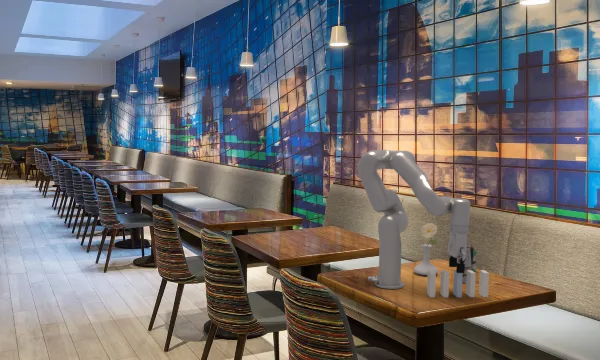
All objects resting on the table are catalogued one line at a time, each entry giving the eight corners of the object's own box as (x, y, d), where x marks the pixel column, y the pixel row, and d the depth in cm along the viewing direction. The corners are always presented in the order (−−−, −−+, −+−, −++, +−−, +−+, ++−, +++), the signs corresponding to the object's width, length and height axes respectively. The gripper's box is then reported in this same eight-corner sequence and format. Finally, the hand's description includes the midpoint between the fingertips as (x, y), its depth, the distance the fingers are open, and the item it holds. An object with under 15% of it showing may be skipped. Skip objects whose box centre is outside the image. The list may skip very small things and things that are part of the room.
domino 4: (470, 297, 242) (470, 273, 241) (466, 293, 247) (466, 270, 246) (474, 297, 242) (475, 273, 241) (470, 293, 247) (471, 270, 246)
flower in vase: (408, 272, 284) (410, 220, 282) (428, 270, 288) (429, 219, 286) (425, 278, 272) (427, 224, 270) (445, 276, 277) (447, 223, 275)
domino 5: (483, 297, 242) (484, 273, 242) (478, 293, 247) (479, 270, 247) (488, 297, 243) (488, 273, 242) (483, 293, 248) (484, 270, 247)
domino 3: (456, 297, 242) (457, 273, 241) (453, 293, 247) (453, 270, 246) (461, 297, 242) (462, 273, 241) (457, 293, 247) (458, 270, 246)
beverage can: (472, 276, 278) (472, 251, 277) (455, 273, 282) (456, 248, 281) (478, 273, 284) (479, 248, 283) (462, 270, 289) (462, 246, 288)
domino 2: (443, 297, 242) (444, 273, 241) (440, 293, 247) (440, 270, 246) (448, 297, 242) (449, 273, 241) (444, 293, 247) (445, 270, 246)
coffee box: (472, 283, 264) (473, 248, 263) (457, 282, 265) (458, 247, 264) (470, 278, 273) (472, 244, 271) (456, 277, 274) (457, 243, 273)
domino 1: (430, 297, 241) (430, 273, 240) (427, 294, 246) (427, 270, 245) (435, 297, 241) (435, 273, 241) (431, 294, 246) (432, 270, 246)
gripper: (443, 224, 251) (441, 264, 252) (456, 232, 233) (454, 275, 235) (461, 225, 251) (458, 265, 253) (475, 233, 234) (472, 275, 236)
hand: (456, 269), depth 244 cm, fingers open, 9 cm apart
